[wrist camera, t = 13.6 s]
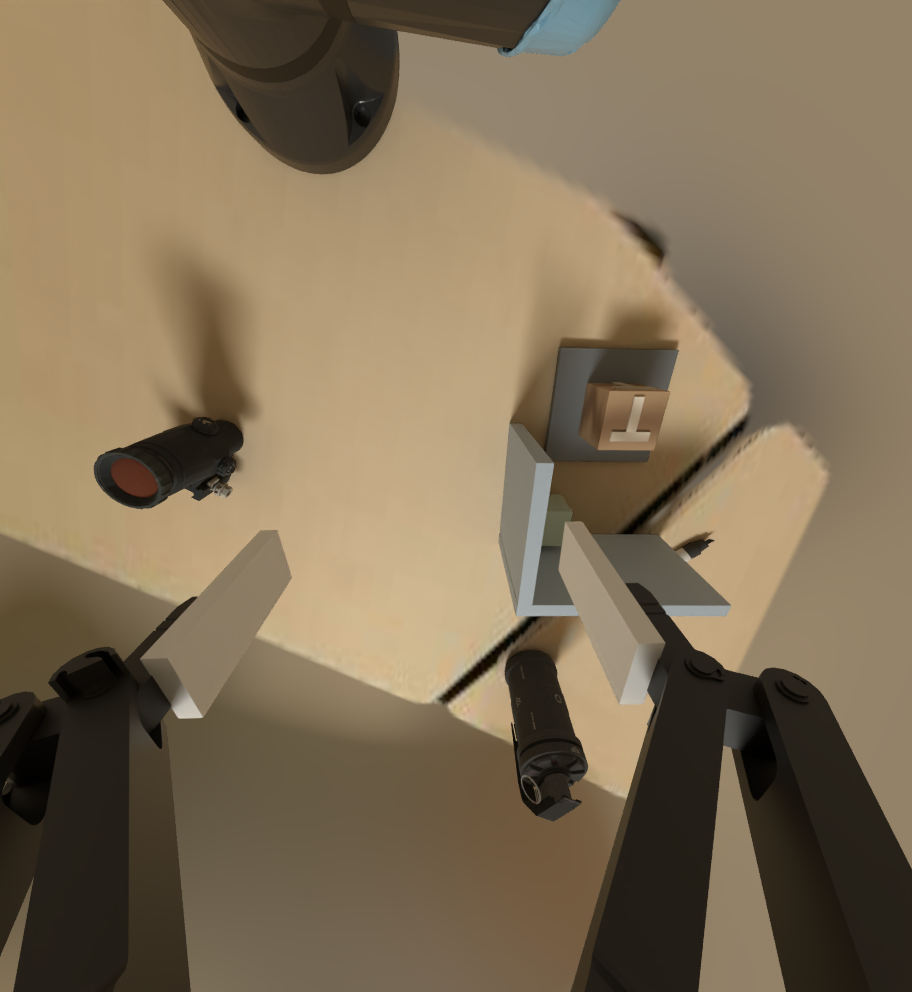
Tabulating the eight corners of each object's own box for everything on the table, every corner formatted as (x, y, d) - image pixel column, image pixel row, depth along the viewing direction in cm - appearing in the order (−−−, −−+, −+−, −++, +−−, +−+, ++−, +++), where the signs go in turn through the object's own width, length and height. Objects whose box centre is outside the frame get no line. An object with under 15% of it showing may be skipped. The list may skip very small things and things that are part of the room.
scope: (60, 509, 29) (82, 415, 26) (176, 457, 42) (200, 388, 38) (158, 552, 32) (190, 471, 28) (240, 490, 44) (269, 428, 41)
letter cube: (587, 380, 38) (611, 389, 32) (639, 381, 38) (672, 389, 33) (578, 434, 41) (598, 450, 35) (626, 435, 41) (654, 451, 35)
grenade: (565, 660, 59) (615, 801, 41) (525, 693, 63) (555, 836, 45) (525, 639, 57) (560, 780, 39) (486, 675, 61) (502, 819, 43)
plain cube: (523, 493, 45) (531, 511, 41) (560, 493, 45) (572, 511, 41) (519, 525, 47) (527, 545, 43) (555, 525, 47) (566, 546, 43)
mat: (558, 347, 37) (561, 347, 36) (674, 349, 38) (678, 350, 37) (543, 458, 43) (545, 460, 42) (643, 459, 43) (647, 462, 42)
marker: (615, 591, 53) (621, 600, 51) (610, 583, 52) (615, 592, 51) (710, 539, 49) (720, 547, 47) (705, 530, 48) (715, 538, 47)
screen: (509, 423, 41) (535, 463, 28) (693, 425, 41) (800, 466, 29) (498, 542, 48) (516, 616, 36) (654, 543, 49) (726, 616, 36)
